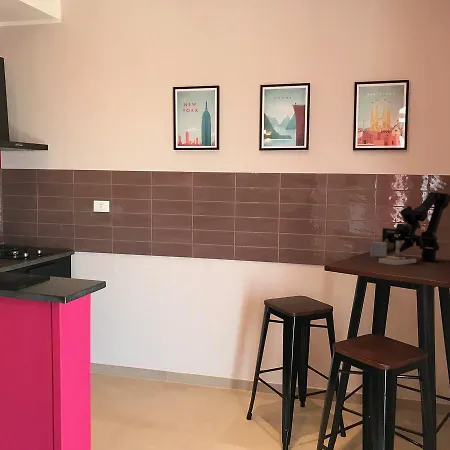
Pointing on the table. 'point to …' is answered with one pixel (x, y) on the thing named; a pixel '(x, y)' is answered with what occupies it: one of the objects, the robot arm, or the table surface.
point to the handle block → (396, 253)
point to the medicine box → (378, 249)
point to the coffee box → (390, 246)
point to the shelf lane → (399, 262)
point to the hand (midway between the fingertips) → (397, 251)
